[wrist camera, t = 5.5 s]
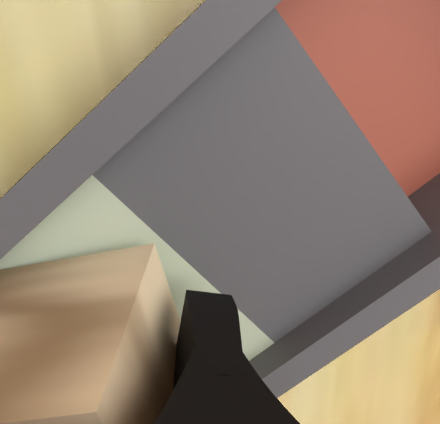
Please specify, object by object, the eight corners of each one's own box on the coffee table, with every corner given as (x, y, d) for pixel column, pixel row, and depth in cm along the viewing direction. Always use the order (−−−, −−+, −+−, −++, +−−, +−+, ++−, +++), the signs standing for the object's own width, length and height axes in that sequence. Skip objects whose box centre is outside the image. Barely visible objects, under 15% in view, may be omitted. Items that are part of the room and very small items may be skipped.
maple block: (52, 395, 14) (-37, 585, 9) (-18, 272, 11) (-180, 444, 7) (199, 376, 13) (179, 572, 8) (154, 243, 11) (96, 412, 6)
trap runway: (24, 494, 19) (-6, 587, 16) (-193, 385, 16) (-289, 478, 12) (601, 76, 13) (733, 92, 10) (473, -259, 10) (616, -397, 7)
